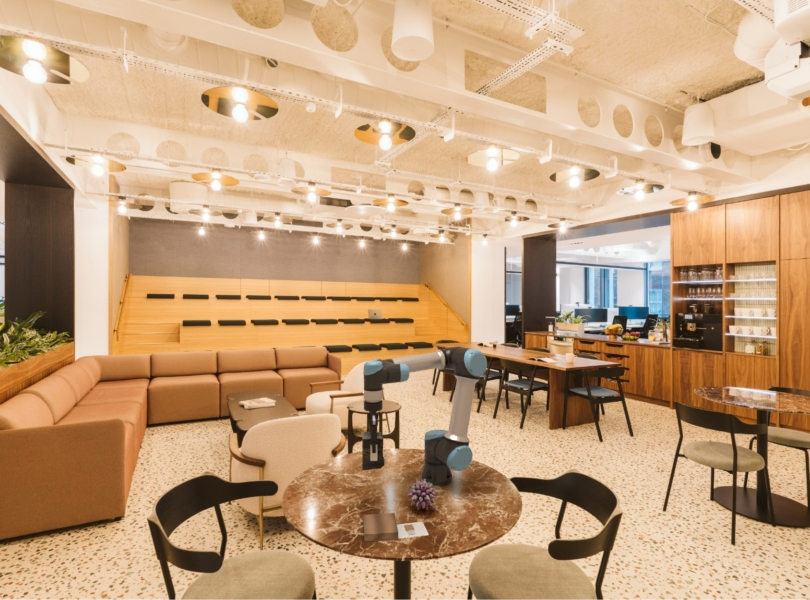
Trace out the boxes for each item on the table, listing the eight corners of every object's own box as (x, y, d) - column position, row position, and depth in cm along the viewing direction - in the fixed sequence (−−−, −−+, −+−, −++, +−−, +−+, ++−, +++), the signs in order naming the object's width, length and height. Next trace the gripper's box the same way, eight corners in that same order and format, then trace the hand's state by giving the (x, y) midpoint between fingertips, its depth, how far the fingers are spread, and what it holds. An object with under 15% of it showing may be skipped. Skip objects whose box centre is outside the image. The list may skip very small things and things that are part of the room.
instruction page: (422, 522, 158) (422, 521, 158) (428, 535, 149) (428, 534, 149) (391, 525, 155) (391, 524, 155) (396, 539, 147) (396, 538, 147)
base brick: (394, 520, 159) (394, 512, 159) (398, 540, 146) (398, 532, 146) (363, 522, 158) (363, 514, 157) (364, 542, 145) (364, 534, 145)
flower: (439, 515, 163) (439, 485, 163) (409, 517, 161) (410, 487, 161) (432, 500, 175) (433, 472, 175) (405, 503, 173) (405, 474, 173)
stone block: (384, 470, 165) (383, 462, 170) (384, 438, 162) (384, 430, 167) (362, 470, 164) (362, 462, 169) (362, 438, 161) (362, 431, 166)
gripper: (363, 394, 174) (363, 448, 175) (364, 406, 155) (364, 467, 155) (380, 393, 175) (381, 447, 175) (384, 406, 156) (384, 466, 156)
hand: (373, 456), depth 165 cm, fingers closed on stone block, 6 cm apart
